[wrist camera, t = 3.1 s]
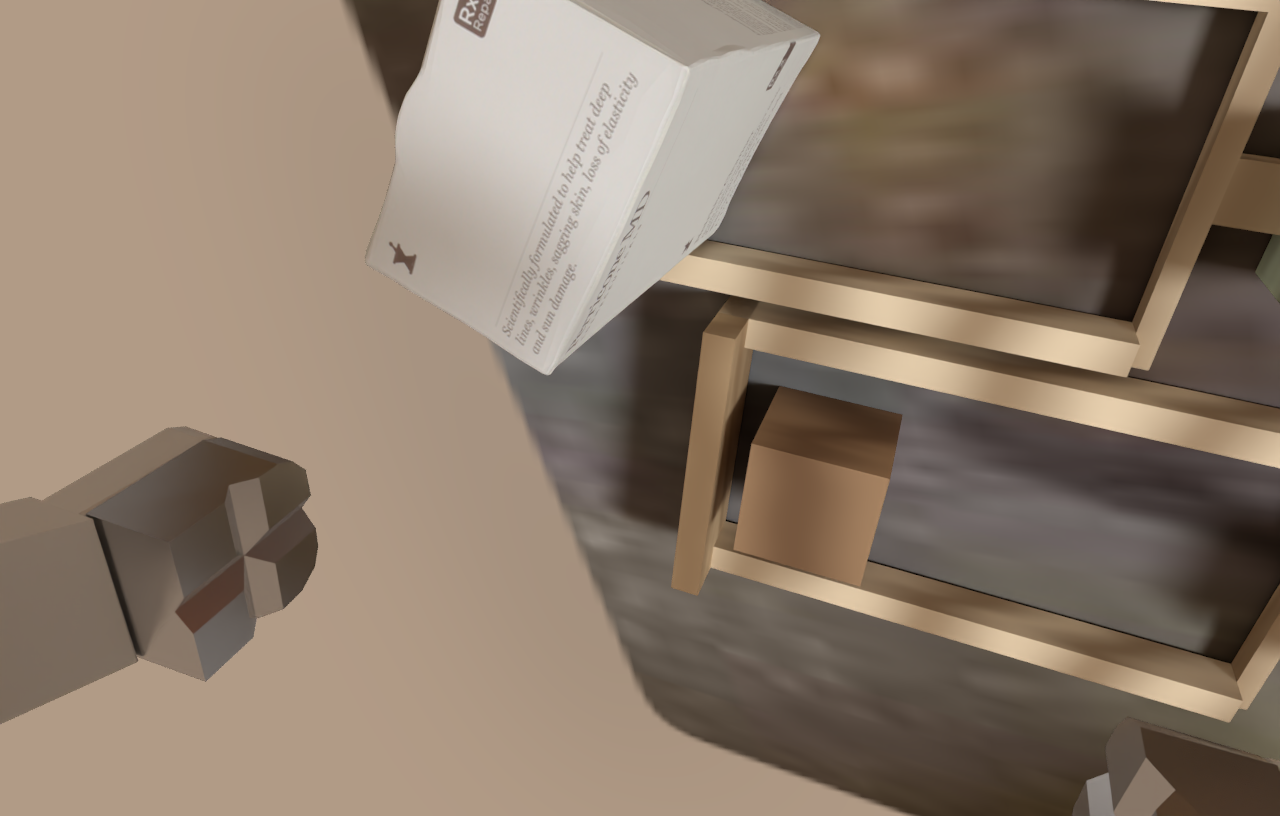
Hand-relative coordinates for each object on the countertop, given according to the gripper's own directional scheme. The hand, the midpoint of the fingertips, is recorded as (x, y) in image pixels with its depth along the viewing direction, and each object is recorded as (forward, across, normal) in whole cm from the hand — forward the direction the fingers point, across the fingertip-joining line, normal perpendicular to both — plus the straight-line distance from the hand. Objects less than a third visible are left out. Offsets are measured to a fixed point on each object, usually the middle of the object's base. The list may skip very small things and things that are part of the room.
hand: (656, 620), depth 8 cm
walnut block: (+25, 0, -13) cm, 28 cm away
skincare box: (+25, -7, 0) cm, 26 cm away
